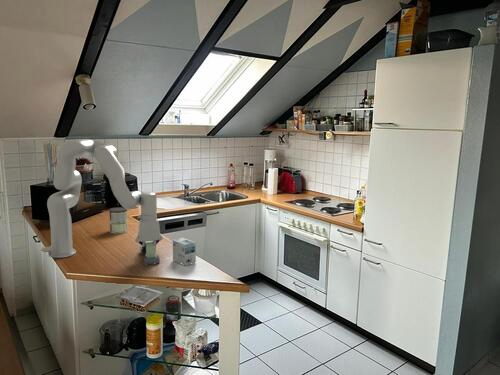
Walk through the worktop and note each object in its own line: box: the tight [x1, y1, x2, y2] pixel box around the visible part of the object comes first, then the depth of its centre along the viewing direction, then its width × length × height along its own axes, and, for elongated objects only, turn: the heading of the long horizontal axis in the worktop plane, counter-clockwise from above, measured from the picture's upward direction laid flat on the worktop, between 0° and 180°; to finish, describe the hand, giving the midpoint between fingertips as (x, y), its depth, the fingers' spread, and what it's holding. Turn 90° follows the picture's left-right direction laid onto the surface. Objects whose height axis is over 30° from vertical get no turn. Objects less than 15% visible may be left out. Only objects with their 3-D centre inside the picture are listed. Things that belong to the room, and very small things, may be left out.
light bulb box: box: [172, 237, 197, 266], centre depth 189 cm, size 11×7×11 cm, turn 46°
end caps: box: [139, 245, 160, 265], centre depth 193 cm, size 6×20×3 cm, turn 24°
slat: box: [144, 241, 157, 258], centre depth 193 cm, size 4×16×7 cm, turn 24°
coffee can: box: [108, 206, 128, 235], centre depth 236 cm, size 10×10×14 cm
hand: (149, 252), depth 193 cm, fingers closed on slat, 3 cm apart
